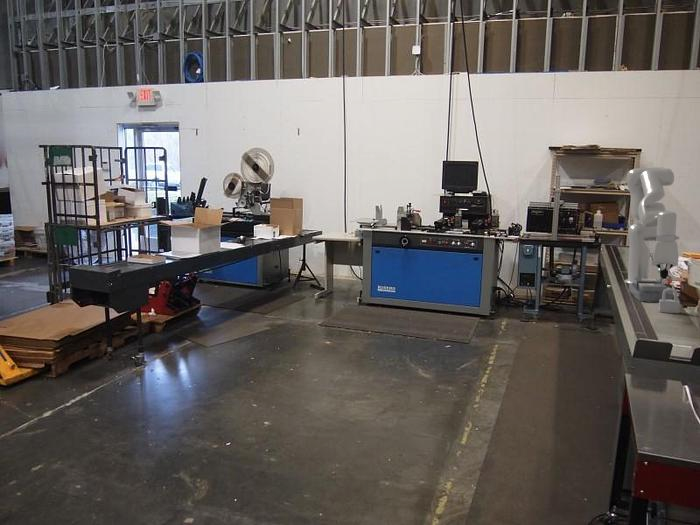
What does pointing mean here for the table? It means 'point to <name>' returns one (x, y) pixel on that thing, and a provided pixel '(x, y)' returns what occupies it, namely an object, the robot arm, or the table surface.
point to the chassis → (648, 290)
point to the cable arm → (668, 277)
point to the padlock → (669, 303)
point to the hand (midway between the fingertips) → (663, 278)
